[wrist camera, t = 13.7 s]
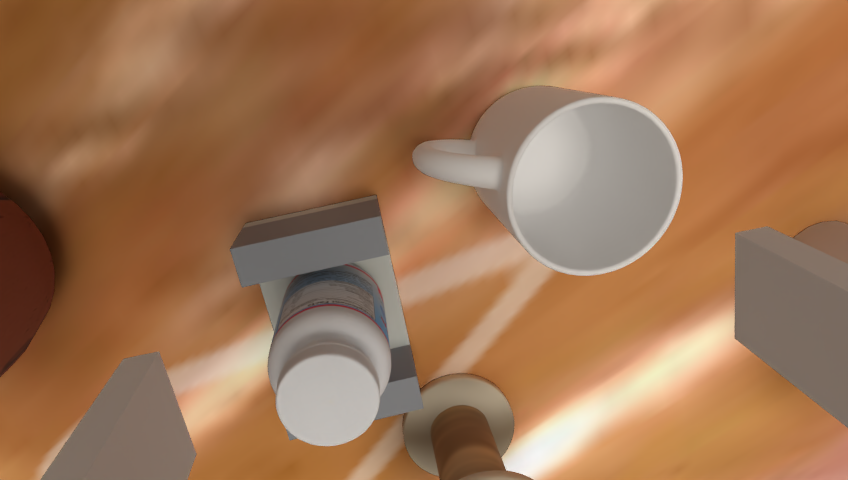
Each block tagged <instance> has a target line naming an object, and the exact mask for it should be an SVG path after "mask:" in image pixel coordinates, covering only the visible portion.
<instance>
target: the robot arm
mask: <svg viewBox="0 0 848 480" xmlns="http://www.w3.org/2000/svg"><path fill="white" fill-rule="evenodd" d="M735 339H736V340H738V341H739V342H740V343H741V344H743V345H744V346H745V347H746V348H748V349H749V350H750V351H751V352H753V353H754V354H755V355H757V356H758V357H759V358H760V359H762V360H763V361H764V362H765V363H767V364H768V365H769V366H770V367H772V368H773V369H774V370H775V371H777V372H778V373H779V374H780V375H782V376H783V377H784V378H786V379H787V380H788V381H789V382H791V383H792V384H793V385H794V386H796V387H797V388H798V389H799V390H801V391H802V392H803V393H804V394H806V395H807V396H808V397H810V398H811V399H812V400H813V401H815V402H816V403H817V404H818V405H820V406H821V407H822V408H823V409H825V410H826V411H827V412H828V413H830V414H831V415H832V416H833V417H835V418H836V419H837V420H839V421H840V422H841V423H842V424H844V425H845V426H846V427H847V428H848V264H847V263H845V262H843V261H841V260H838V259H836V258H834V257H832V256H830V255H828V254H826V253H823V252H821V251H819V250H817V249H815V248H813V247H810V246H808V245H806V244H804V243H802V242H800V241H798V240H795V239H793V238H791V237H789V236H787V235H785V234H782V233H780V232H778V231H776V230H774V229H772V228H770V227H762V228H757V229H752V230H747V231H742V232H738V233H735ZM195 457H196V452H195V449H194V446H193V443H192V441H191V438H190V435H189V432H188V430H187V427H186V424H185V421H184V419H183V416H182V413H181V410H180V408H179V405H178V402H177V399H176V397H175V394H174V391H173V388H172V386H171V383H170V380H169V377H168V375H167V372H166V369H165V367H164V364H163V361H162V358H161V356H160V353H159V352H154V353H150V354H145V355H140V356H135V357H130V358H125V359H123V360H122V362H121V363H120V365H119V366H118V368H117V369H116V370H115V372H114V373H113V375H112V376H111V378H110V379H109V381H108V382H107V384H106V385H105V386H104V388H103V389H102V391H101V392H100V394H99V395H98V397H97V398H96V400H95V401H94V402H93V404H92V405H91V407H90V408H89V410H88V411H87V413H86V414H85V416H84V417H83V418H82V420H81V421H80V423H79V424H78V426H77V427H76V429H75V430H74V432H73V433H72V434H71V436H70V437H69V439H68V440H67V442H66V443H65V445H64V446H63V448H62V449H61V450H60V452H59V453H58V455H57V456H56V458H55V459H54V461H53V462H52V464H51V465H50V466H49V468H48V469H47V471H46V472H45V474H44V475H43V477H42V478H41V480H187V479H188V476H189V474H190V471H191V468H192V465H193V462H194V460H195Z"/></svg>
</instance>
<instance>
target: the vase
mask: <svg viewBox="0 0 848 480" xmlns="http://www.w3.org/2000/svg"><path fill="white" fill-rule="evenodd" d="M793 239H795V240H798V241H800V242H802V243H804V244H806V245H808V246H810V247H813V248H815V249H817V250H819V251H821V252H823V253H826V254H828V255H830V256H832V257H834V258H836V259H838V260H841V261H843V262H845V263H847V264H848V224H846V223H843V222H839V221H827V222H820V223H818V224H815V225H813V226H810V227H808V228H806V229H805V230H803V231H802V232H800V233H799V234H798V235H796V236H795V237H794V238H793Z"/></svg>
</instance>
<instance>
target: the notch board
mask: <svg viewBox="0 0 848 480" xmlns="http://www.w3.org/2000/svg"><path fill="white" fill-rule="evenodd" d="M230 251H231V254H232V258H233V261H234V264H235V267H236V270H237V274H238V277H239V280H240V283H241V286H242V287H246V286H251V285H255V284H260V287H261V290H262V294H263V297H264V300H265V304H266V307H267V310H268V313H269V317H270V320H271V323H272V327H273V330H274V332H275V328H276V324H277V320H278V316H279V312H280V309H281V305H282V302H283V298H284V295H285V292H286V289H287V287H288V286H289V284H290V282H291V281H292V280H293V278H294V277H295V276H296V275H300V274H305V273H309V272H314V271H318V270H323V269H327V268H331V267H336V266H340V265H345V264H349V263H350V264H353V265H355V266H357V267H359V268H361V269H363V270H365V271H366V272H367V273H368V274H370V275H371V276H372V277H373V279H374V280H375V281H376V283H377V284H378V286H379V288H380V290H381V293H382V297H383V302H384V308H385V315H386V322H387V330H388V337H389V344H390V352H391V373H390V377H389V381H388V384H387V386H386V388H385V390H384V392H383V394H382V395H381V397H380V404H379V409H378V412H377V415H376V417H375V419H374V420H377V419H381V418H386V417H390V416H394V415H398V414H402V413H407V412H411V411H415V410H419V409H423V408H424V407H423V402H422V397H421V393H420V388H419V383H418V378H417V374H416V369H415V364H414V360H413V355H412V351H411V346H410V342H409V338H408V333H407V329H406V324H405V320H404V315H403V311H402V306H401V302H400V298H399V293H398V289H397V284H396V280H395V275H394V271H393V266H392V262H391V258H390V253H389V249H388V244H387V240H386V235H385V231H384V226H383V222H382V218H381V213H380V209H379V204H378V200H377V195H374V196H369V197H364V198H360V199H355V200H351V201H346V202H341V203H337V204H332V205H328V206H323V207H318V208H314V209H309V210H305V211H300V212H295V213H291V214H286V215H282V216H277V217H272V218H268V219H263V220H259V221H254V222H249V223H245V225H244V227H243V228H242V230H241V232H240V233H239V235H238V236H237V238H236V240H235V241H234V243H233V245H232V246H231V248H230ZM286 430H287V429H286ZM287 433H288V436H289V440H293V439H297V438H296V437H295V436H294V435H292V434H291V433H290V432H289V431H288V430H287Z"/></svg>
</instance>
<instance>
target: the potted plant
mask: <svg viewBox="0 0 848 480" xmlns="http://www.w3.org/2000/svg"><path fill="white" fill-rule="evenodd" d="M54 284H55V272H54V267H53V262H52V257H51V253H50V251H49V249H48V246H47V244H46V242H45V239H44V237H43V236H42V234H41V233H40V231H39V230H38V228H37V227H36V225H35V224H34V222H33V221H32V219H31V218H30V217H29V216H28V215H27V214H26V213H25V212H24V211H23V210H22V209H21V208H20V207H19V206H18V205H17V204H16V203H14V202H13V201H12V200H10V199H9V198H8V197H6V196H5V195H4V194H2V193H1V192H0V377H1V376H2V375H3V374H4V373H5V372H6V371H7V370H8V369H9V368H10V367H11V366H12V365H13V364H14V363H15V362H16V360H17V359H18V358H19V357H20V356H21V355H22V354H23V353H24V352H25V350H26V349H27V347H28V345H29V344H30V342H31V340H32V338H33V337H34V335H35V333H36V332H37V330H38V328H39V327H40V325H41V323H42V321H43V320H44V318H45V316H46V314H47V312H48V310H49V308H50V306H51V302H52V298H53V294H54Z"/></svg>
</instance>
